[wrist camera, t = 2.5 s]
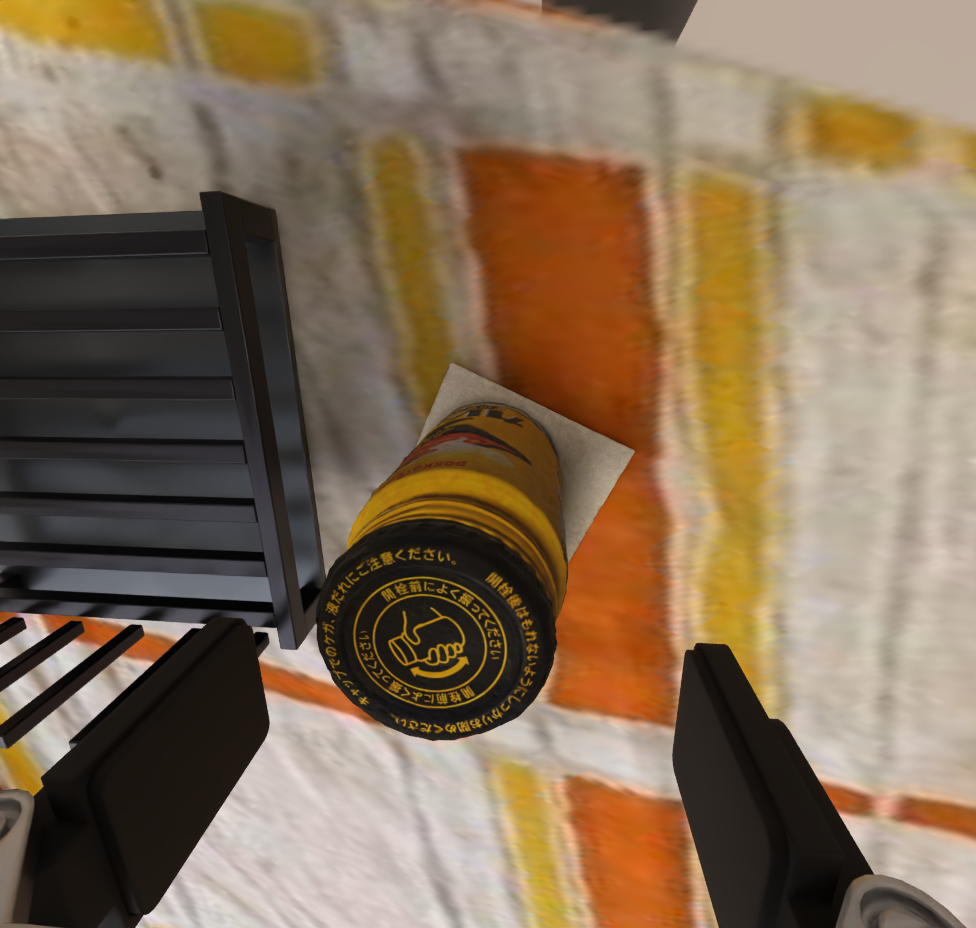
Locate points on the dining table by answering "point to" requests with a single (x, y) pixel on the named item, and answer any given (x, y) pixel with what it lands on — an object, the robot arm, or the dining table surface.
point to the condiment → (464, 563)
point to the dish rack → (149, 435)
